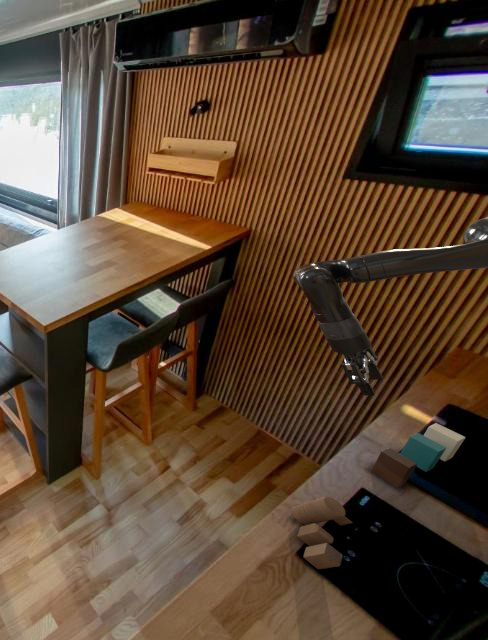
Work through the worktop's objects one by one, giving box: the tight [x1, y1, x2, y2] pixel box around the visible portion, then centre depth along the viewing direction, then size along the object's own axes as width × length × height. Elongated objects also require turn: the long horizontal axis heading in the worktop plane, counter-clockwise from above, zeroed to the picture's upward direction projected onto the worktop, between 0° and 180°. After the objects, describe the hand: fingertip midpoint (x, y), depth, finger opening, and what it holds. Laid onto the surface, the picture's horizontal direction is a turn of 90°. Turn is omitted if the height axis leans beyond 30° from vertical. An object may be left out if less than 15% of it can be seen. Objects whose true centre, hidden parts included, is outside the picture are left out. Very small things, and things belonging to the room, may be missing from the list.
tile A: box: [423, 422, 466, 462], centre depth 97 cm, size 3×5×8 cm, turn 17°
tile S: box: [399, 432, 446, 473], centre depth 95 cm, size 3×5×8 cm, turn 17°
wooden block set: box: [291, 496, 353, 570], centre depth 84 cm, size 18×9×10 cm, turn 130°
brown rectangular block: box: [370, 447, 417, 489], centre depth 93 cm, size 3×5×8 cm, turn 17°
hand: (373, 386), depth 95 cm, fingers open, 8 cm apart
